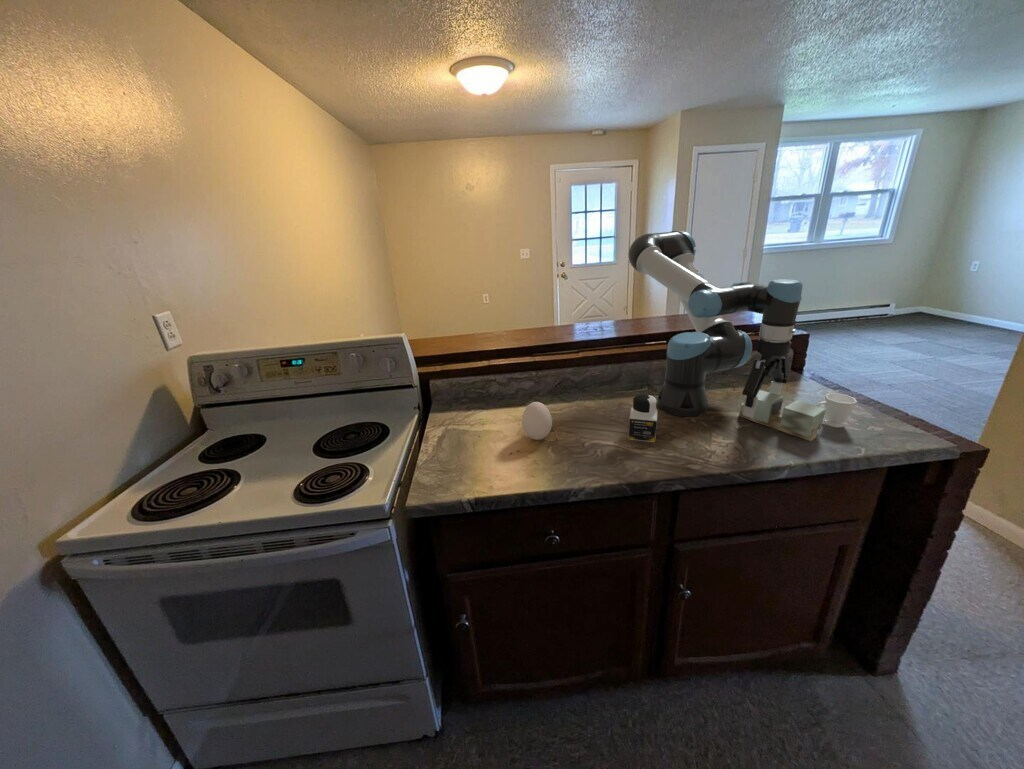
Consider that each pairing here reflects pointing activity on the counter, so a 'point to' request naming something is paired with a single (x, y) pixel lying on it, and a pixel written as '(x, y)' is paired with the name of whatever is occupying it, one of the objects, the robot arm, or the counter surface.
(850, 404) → the cup
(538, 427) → the egg
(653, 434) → the medicine bottle
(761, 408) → the block
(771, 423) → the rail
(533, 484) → the counter surface
